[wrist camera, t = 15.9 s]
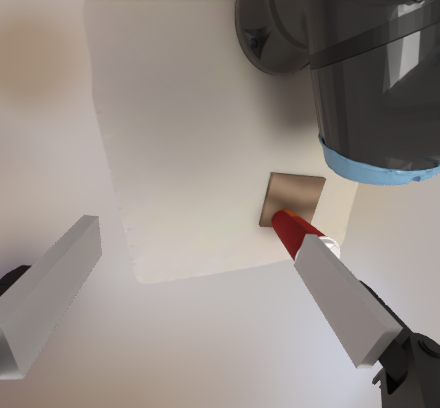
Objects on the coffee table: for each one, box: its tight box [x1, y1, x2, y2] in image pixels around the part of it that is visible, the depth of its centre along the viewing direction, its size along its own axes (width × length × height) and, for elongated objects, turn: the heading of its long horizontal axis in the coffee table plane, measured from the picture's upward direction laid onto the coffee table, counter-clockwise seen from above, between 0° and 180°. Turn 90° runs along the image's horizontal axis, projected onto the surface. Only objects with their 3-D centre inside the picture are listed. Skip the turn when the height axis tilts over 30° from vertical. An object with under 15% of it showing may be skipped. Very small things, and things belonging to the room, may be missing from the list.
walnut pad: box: [259, 173, 326, 227], centre depth 45 cm, size 12×12×1 cm
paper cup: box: [271, 209, 340, 261], centre depth 40 cm, size 8×8×14 cm
